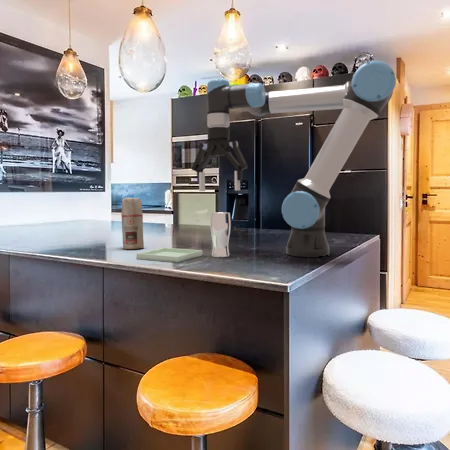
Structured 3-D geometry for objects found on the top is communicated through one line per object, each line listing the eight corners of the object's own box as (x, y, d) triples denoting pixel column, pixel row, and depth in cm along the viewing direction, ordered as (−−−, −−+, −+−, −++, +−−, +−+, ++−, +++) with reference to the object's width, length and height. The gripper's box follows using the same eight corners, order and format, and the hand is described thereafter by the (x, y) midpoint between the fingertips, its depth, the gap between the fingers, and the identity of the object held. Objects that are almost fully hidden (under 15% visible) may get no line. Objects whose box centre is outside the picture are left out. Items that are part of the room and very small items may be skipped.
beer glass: (228, 257, 137) (228, 213, 136) (208, 257, 139) (208, 213, 137) (232, 254, 144) (232, 212, 143) (213, 254, 145) (212, 212, 144)
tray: (202, 255, 142) (202, 250, 142) (177, 262, 128) (177, 257, 128) (164, 252, 149) (164, 247, 149) (136, 259, 135) (136, 253, 135)
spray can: (117, 249, 157) (116, 197, 156) (130, 246, 165) (129, 197, 163) (136, 250, 154) (135, 197, 153) (148, 247, 162) (147, 197, 160)
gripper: (256, 126, 136) (257, 190, 138) (192, 132, 147) (193, 191, 149) (248, 123, 129) (248, 190, 131) (181, 129, 140) (182, 191, 142)
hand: (219, 190), depth 140 cm, fingers open, 13 cm apart
